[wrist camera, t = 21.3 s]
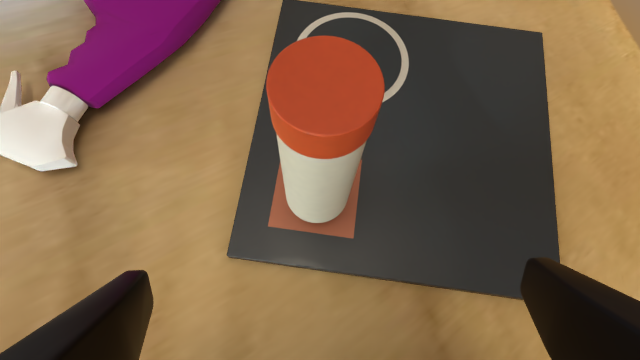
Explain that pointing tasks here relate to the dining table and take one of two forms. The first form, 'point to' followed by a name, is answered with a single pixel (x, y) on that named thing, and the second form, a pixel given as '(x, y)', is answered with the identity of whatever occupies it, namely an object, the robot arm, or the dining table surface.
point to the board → (420, 159)
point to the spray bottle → (95, 75)
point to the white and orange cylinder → (322, 120)
